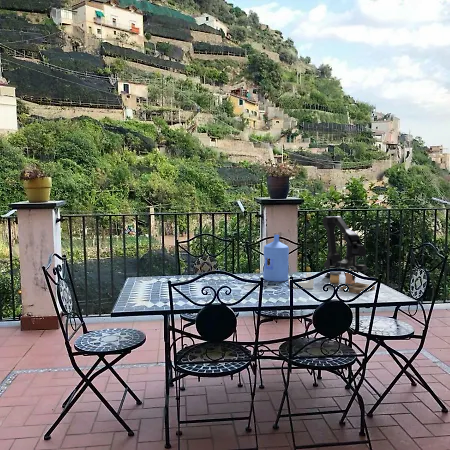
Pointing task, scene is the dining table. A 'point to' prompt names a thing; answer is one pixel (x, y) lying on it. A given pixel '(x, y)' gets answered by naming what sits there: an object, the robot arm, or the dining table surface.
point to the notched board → (357, 287)
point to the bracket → (305, 282)
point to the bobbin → (334, 278)
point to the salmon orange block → (349, 278)
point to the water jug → (276, 261)
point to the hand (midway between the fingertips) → (350, 280)
